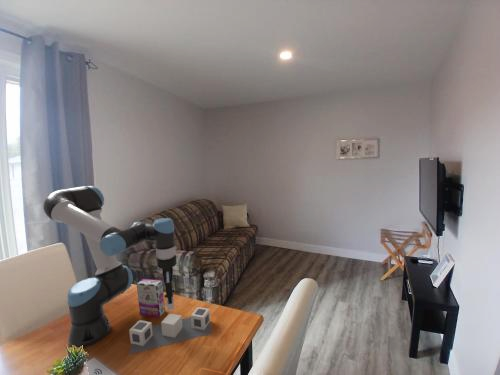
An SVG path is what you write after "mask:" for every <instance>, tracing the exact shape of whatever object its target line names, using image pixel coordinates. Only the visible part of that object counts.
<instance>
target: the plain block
mask: <svg viewBox="0 0 500 375" xmlns="http://www.w3.org/2000/svg"><path fill="white" fill-rule="evenodd" d="M182 316H183V315H181V314H175V313H171V312H170V313H168V314H167V316H166V317H165V318H164V319H163V320H161V323H160V324H161V325H162V335H164V336H168V337H173V338H175V337H176V336H177V334H178V333H179V332H180V331H181V329H182V319H183V318H182Z"/></svg>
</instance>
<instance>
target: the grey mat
mask: <svg viewBox="0 0 500 375" xmlns="http://www.w3.org/2000/svg"><path fill="white" fill-rule="evenodd" d="M152 332H153V336H152V337H151V338H150V339H149V340H148V341H147V342H146V343H145V344H144V346H141V345H136V344H132V343H130V344H131V345H130V349H129V350H130V351H129V355H131V354H136V353H141V352H145V351H148V350H152V349H156V348H161V347H163V346H168V345H169V346H170V345H172V344H175V343H176V344H177V343H180V342H184V341H187V340H188V341H189V340H191V339H196V338H201V337H205V336H208V335H212V334H213V330H212V327H211V321H210V322H209V324H208V325H207V327H206V328H205V330H200V329H195V328H192V323H191V316H190V317H189V316H188V317H184V318H182V329H181V331H180V332H179V333H178V334H177V336H176V337H175V338H173V337H168V336H164V335H162V325H161V323H158V324H152Z"/></svg>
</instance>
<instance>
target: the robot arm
mask: <svg viewBox="0 0 500 375" xmlns="http://www.w3.org/2000/svg"><path fill="white" fill-rule="evenodd" d="M43 202H44V203H43V211H44V213H45V215H46V216H47V217H48V218H49V219H50V220H52V221H54V222H56V223H63V224H65V225H67V226H68V227H70V228H72V229H73V230H75V231H78V232H79V233H81V234H83V235H84V238H85V241H86V242H87V245H88V249H89V251H90V253H91V256H92V259H93V261H94V262H93V263H94V265H95V266H96V271H95V274H94V275H95V277H88V278H86V279H82V280H80V281H78V282H76V283H75V284H73V285H72V286H71V287H70V289H69V290H68V292H67V305H68V310H69V315H70V316H69V317H70V322H71V326H70V329H69V334H68V337H67V338H68V345H69V347H70V346H72V345H75V346H76V347H80V346H82V345H83V347H84V348H87V347H90V346H92V345H95V344H97V343H99V342H101V341H102V340H103V339H104V338H106V336H107V335H108V334H109V333H110V331H111V323H110V321H109V319H108V317H107V316H106V314H105V311H104V306H105V305H106V304H107V303H109V302H110V301H112V300H113V299H115V298H117V297H119V296H121V295H122V294H124V293H125V292H126V291H127V290H129V289H130V288H131V286H132V284H133V281H134V277H133V272H132V270H131V269H130V268H129V266H127V265H123V263H122V262H121V261H118V260H117V257H116V255H118V254H121V253H123V252H125V251H127V250H129V249H131V248H133V247H136V246H137V245H140V244H142V243H145V242H154V243H155V254H156V262H157V264H156V265H157V267H158V268H159V269H161V270H162V277H163V283H164V286H165V287H164V288H165V294H164V298H166V308H167V311H171V310H175V303H174V302H175V301H174V293H175V290H174V289H173V288H174V286H173V274H174V269H173V268H174V267H176V265H177V255H176V254H177V251H176V250H177V249H178V247H177V246H176V240H175V236H176V235H175V226H174V225H175V224H174V220H173V219H172V218H170V217H169V218H168V217H166V218H164V217H163V218H158V219H157V218H156V220H154V221H153V222H147V221H143V220H142V221H134V222H133V224H131V225H130V227H127V228H124V229H120V228H118V227H115V226H114V225H112V224H111V223H108V222H106V221H104V220H103V219H102V216H101V213H102V212H103V208H102V207H103V206H104V205H105V198H104V195H103V193H102V191H101V190H100V189H99V188H98V187H96V186H93V185H87V186H86V185H83V186H78V187H71V188H65V189H57V190H55V191H53V192H51V193H50V194H48V195H47V197H46V198H45V200H44V201H43Z"/></svg>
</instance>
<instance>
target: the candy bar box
mask: <svg viewBox="0 0 500 375" xmlns="http://www.w3.org/2000/svg"><path fill="white" fill-rule="evenodd" d="M136 289H137V300H138V307H139V308H138V309H139V315H141V316H149V317H157V318H161V317H162V316H163V314H164V313H165V312H166V304H165V294H164V280H160V279H158V280H157V279H147V278H142V279H141V280H139V282H137V283H136Z"/></svg>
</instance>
